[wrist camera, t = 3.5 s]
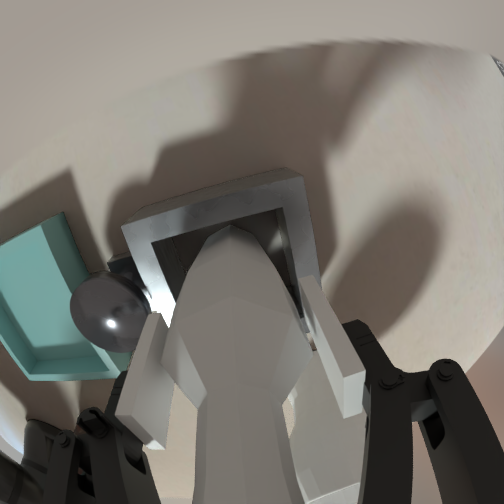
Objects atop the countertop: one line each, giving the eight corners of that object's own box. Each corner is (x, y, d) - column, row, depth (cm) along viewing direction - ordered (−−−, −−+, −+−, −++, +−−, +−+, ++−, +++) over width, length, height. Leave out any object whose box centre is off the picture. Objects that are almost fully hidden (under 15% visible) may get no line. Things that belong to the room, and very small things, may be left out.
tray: (40, 361, 25) (29, 380, 22) (-20, 255, 19) (-38, 269, 16) (132, 352, 25) (123, 377, 22) (63, 211, 19) (40, 225, 16)
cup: (265, 346, 25) (294, 495, 12) (368, 328, 26) (439, 446, 12) (270, 407, 30) (289, 519, 16) (354, 391, 30) (395, 490, 16)
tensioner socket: (127, 337, 24) (111, 378, 19) (75, 231, 20) (40, 259, 15) (310, 295, 24) (330, 336, 19) (286, 167, 19) (307, 178, 14)
